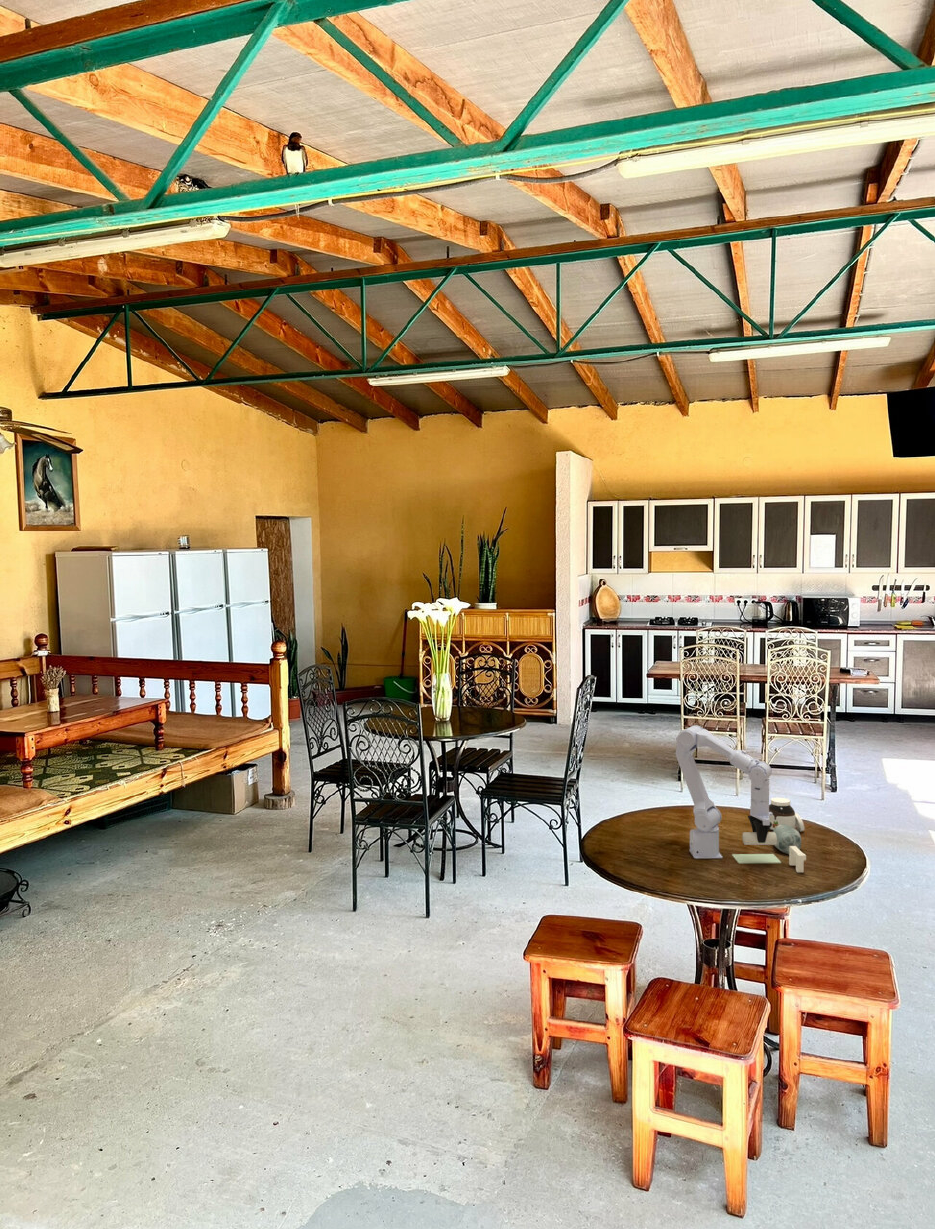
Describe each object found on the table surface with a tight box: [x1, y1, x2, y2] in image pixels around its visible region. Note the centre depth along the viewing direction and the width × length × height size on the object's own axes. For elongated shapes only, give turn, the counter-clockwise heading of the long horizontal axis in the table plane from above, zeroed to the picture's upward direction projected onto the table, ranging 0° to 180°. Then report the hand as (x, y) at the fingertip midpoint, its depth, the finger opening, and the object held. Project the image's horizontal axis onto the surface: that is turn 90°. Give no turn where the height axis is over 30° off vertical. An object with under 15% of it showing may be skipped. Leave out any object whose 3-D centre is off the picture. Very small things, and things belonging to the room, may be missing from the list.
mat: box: [731, 853, 782, 864], centre depth 292 cm, size 14×8×1 cm, turn 89°
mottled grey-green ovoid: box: [773, 825, 802, 855], centre depth 300 cm, size 14×10×10 cm
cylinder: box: [742, 831, 777, 846], centre depth 286 cm, size 10×4×4 cm, turn 88°
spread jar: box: [769, 796, 806, 833], centre depth 320 cm, size 12×11×12 cm
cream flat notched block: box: [788, 846, 807, 873], centre depth 281 cm, size 2×9×6 cm, turn 179°
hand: (759, 840), depth 286 cm, fingers closed on cylinder, 4 cm apart
